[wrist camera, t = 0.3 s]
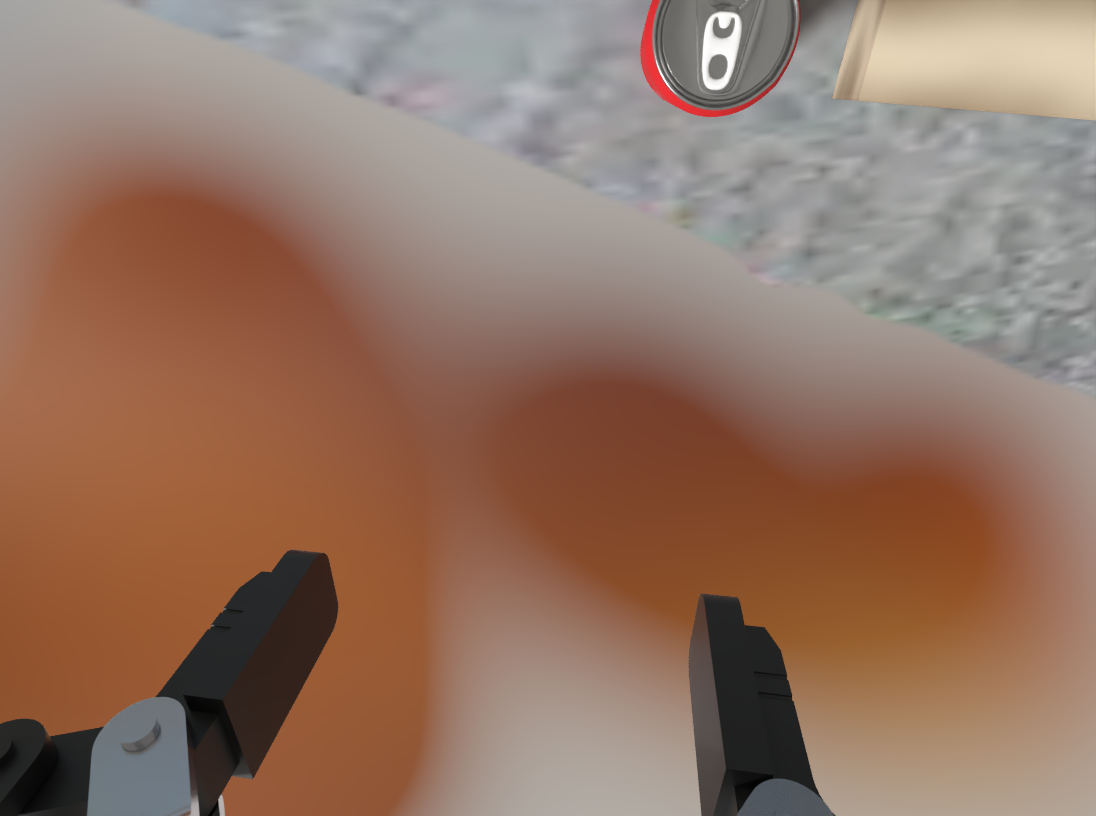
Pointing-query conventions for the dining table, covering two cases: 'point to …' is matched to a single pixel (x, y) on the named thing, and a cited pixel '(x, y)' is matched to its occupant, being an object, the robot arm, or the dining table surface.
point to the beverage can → (717, 51)
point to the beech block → (974, 55)
